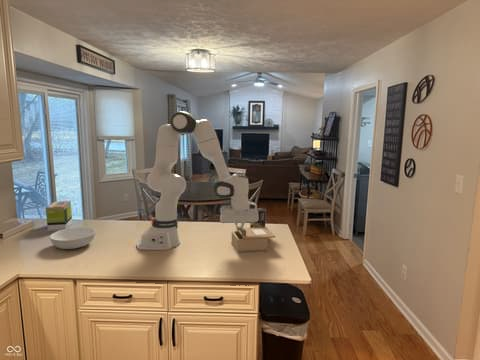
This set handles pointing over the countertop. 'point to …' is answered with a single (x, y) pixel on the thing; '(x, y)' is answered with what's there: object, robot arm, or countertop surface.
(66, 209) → the tea box
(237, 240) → the box
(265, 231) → the lid
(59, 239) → the serving bowl
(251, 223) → the coffee box
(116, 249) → the countertop surface
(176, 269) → the countertop surface
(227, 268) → the countertop surface
